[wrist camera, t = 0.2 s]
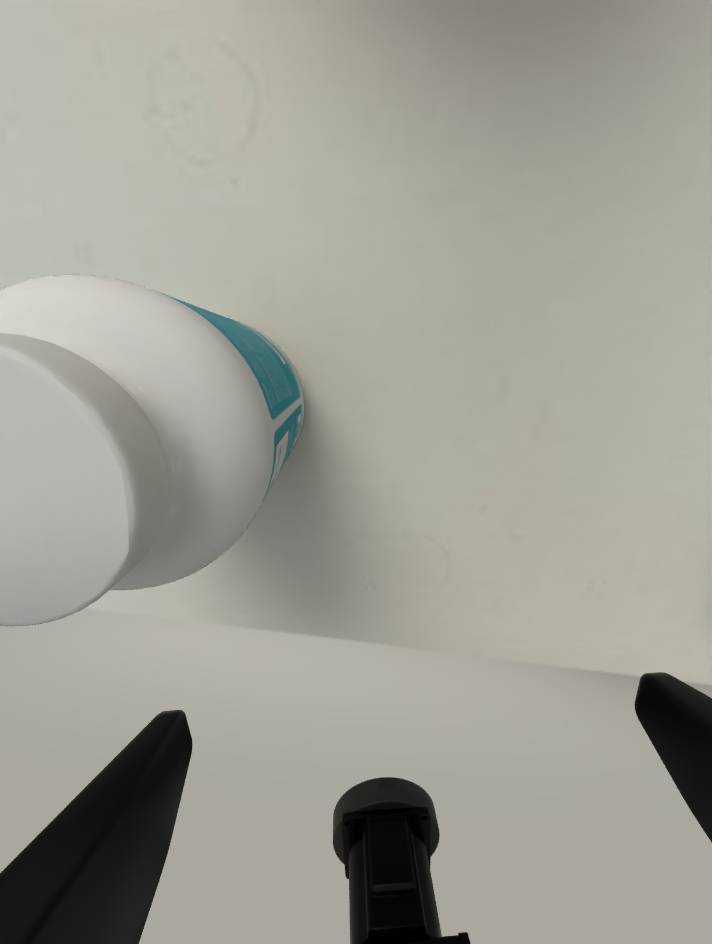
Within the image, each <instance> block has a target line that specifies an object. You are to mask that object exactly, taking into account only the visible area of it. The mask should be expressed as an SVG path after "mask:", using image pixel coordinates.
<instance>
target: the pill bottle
mask: <svg viewBox="0 0 712 944" xmlns="http://www.w3.org/2000/svg"><path fill="white" fill-rule="evenodd" d="M303 418H304V397H303V391H302V387H301V383H300V380H299V378H298V375H297V373H296V370H295V368H294V367H293V365H292V363H291V362H290V360H289V358H288V357H287V356H286V354H285V353H284V352H283V351H282V350H281V349H280V347H279V346H278V345H276V344H275V343H274V342H273V341H272V340H271V339H270V338H268V337H267V336H266V335H264V334H262V333H261V332H259V331H257V330H256V329H254V328H252V327H249V326H247V325H245V324H242V323H240V322H237V321H234V320H232V319H229V318H226V317H223V316H220V315H218V314H215V313H212V312H209V311H207V310H204V309H201V308H199V307H196V306H193V305H191V304H188V303H185V302H183V301H180V300H178V299H175V298H173V297H170V296H167V295H165V294H162V293H160V292H157V291H154V290H151V289H148V288H145V287H143V286H140V285H136V284H133V283H130V282H126V281H122V280H118V279H113V278H107V277H101V276H94V275H74V274H72V275H54V276H48V277H41V278H36V279H32V280H28V281H24V282H21V283H18V284H15V285H12V286H10V287H7V288H4V289H2V290H0V626H25V625H26V626H27V625H36V624H42V623H46V622H50V621H54V620H57V619H61V618H64V617H66V616H69V615H71V614H73V613H75V612H78V611H80V610H82V609H84V608H85V607H87V606H89V605H90V604H92V603H94V602H95V601H97V600H98V599H99V598H100V597H101V596H103V595H104V594H105V593H106V592H107V591H109V590H134V589H142V588H149V587H155V586H159V585H163V584H167V583H170V582H174V581H176V580H179V579H181V578H184V577H186V576H188V575H191V574H193V573H195V572H197V571H199V570H200V569H202V568H204V567H206V566H207V565H209V564H210V563H211V562H213V561H214V560H216V559H217V558H218V557H219V556H221V555H222V554H223V553H224V552H226V551H227V550H228V549H229V548H230V547H231V546H232V545H233V544H234V543H235V542H236V541H237V540H238V538H239V537H240V536H241V535H242V534H243V532H244V531H245V530H246V528H247V527H248V525H249V524H250V522H251V521H252V519H253V517H254V516H255V514H256V512H257V510H258V509H259V507H260V505H261V503H262V502H263V500H264V498H265V496H266V495H267V493H268V491H269V489H270V487H271V486H272V484H273V482H274V481H275V479H276V477H277V475H278V473H279V471H280V470H281V468H282V466H283V464H284V463H285V461H286V459H287V458H288V456H289V454H290V452H291V451H292V449H293V447H294V445H295V443H296V441H297V438H298V436H299V434H300V431H301V428H302V423H303Z"/></svg>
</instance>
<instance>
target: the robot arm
mask: <svg viewBox="0 0 712 944" xmlns="http://www.w3.org/2000/svg"><path fill="white" fill-rule="evenodd" d="M635 711H636V714H637V717H638V719H639V721H640V722H641V724H642V726H643V728H644V729H645V731H646V733H647V735H648V737H649V738H650V740H651V742H652V744H653V745H654V747H655V749H656V751H657V752H658V754H659V756H660V758H661V760H662V761H663V763H664V765H665V767H666V768H667V770H668V772H669V774H670V775H671V777H672V779H673V781H674V782H675V784H676V786H677V788H678V789H679V791H680V793H681V795H682V796H683V798H684V800H685V801H686V803H687V805H688V806H689V808H690V810H691V811H692V813H693V814H694V816H695V818H696V819H697V821H698V822H699V824H700V825H701V827H702V828H703V830H704V831H705V833H706V834H707V836H708V837H709V839H710V840H711V842H712V698H710V697H708V696H707V695H705V694H703V693H701V692H699V691H698V690H696V689H694V688H692V687H691V686H689V685H687V684H685V683H684V682H682V681H680V680H678V679H677V678H675V677H673V676H671V675H669V674H667V673H662V672H659V673H646V674H644V675H642V676H641V678H640V682H639V686H638V691H637V695H636V700H635ZM191 753H192V738H191V734H190V730H189V726H188V723H187V719H186V715H185V713H184V712H183V711H182V710H174V711H164V712H161V713H160V714H158V715H157V716H156V717H155V718H154V719H153V720H152V721H151V722H150V723H149V724H148V725H147V726H146V727H145V728H144V729H143V730H142V731H141V732H140V733H139V734H138V735H137V736H136V737H135V738H134V739H133V740H132V741H131V742H130V743H129V744H128V745H127V746H126V747H125V748H124V749H123V750H122V751H121V752H120V753H119V754H118V755H117V756H116V757H115V758H114V759H113V760H112V761H111V762H110V763H109V764H108V765H107V766H106V767H105V768H104V769H103V770H102V771H101V772H100V773H99V774H98V775H97V776H96V777H95V778H94V779H93V780H92V781H91V782H90V783H89V784H88V785H87V786H86V787H85V789H83V790H82V791H81V792H80V793H79V795H78V796H76V797H75V799H74V800H73V801H72V802H71V803H70V804H69V805H68V806H67V807H66V808H65V809H64V810H63V811H62V812H61V813H60V814H59V815H58V816H57V817H56V818H55V819H54V820H53V821H52V822H51V823H50V824H49V825H48V826H47V827H46V828H45V829H44V830H43V831H42V832H41V833H40V834H39V835H38V836H37V837H36V838H35V839H34V840H33V841H32V842H31V843H30V844H29V845H28V846H27V847H26V848H25V849H24V850H23V851H22V852H21V853H20V854H19V855H18V856H17V857H16V858H15V859H14V860H13V861H12V862H11V863H10V864H9V865H8V866H7V867H6V868H5V869H4V870H3V871H2V872H1V873H0V944H139V941H140V938H141V935H142V932H143V929H144V925H145V922H146V919H147V916H148V913H149V910H150V907H151V904H152V901H153V898H154V895H155V892H156V889H157V885H158V883H159V879H160V876H161V873H162V870H163V867H164V863H165V860H166V857H167V853H168V850H169V846H170V842H171V838H172V834H173V829H174V825H175V821H176V817H177V813H178V808H179V804H180V800H181V796H182V791H183V787H184V783H185V779H186V774H187V770H188V766H189V762H190V758H191ZM341 826H342V839H343V852H344V865H345V876H346V878H347V879H349V891H350V892H349V898H350V944H470V940H469V937H468V933H467V932H465V933H459V934H458V936H446V937H442V935H441V929H440V924H439V918H438V913H437V907H436V901H435V895H434V890H433V884H432V878H431V873H430V859H431V815H430V810H429V809H428V808H427V807H413V808H400V809H386V810H373V811H359V812H347V813H344V814H343V815H342V817H341Z"/></svg>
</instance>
